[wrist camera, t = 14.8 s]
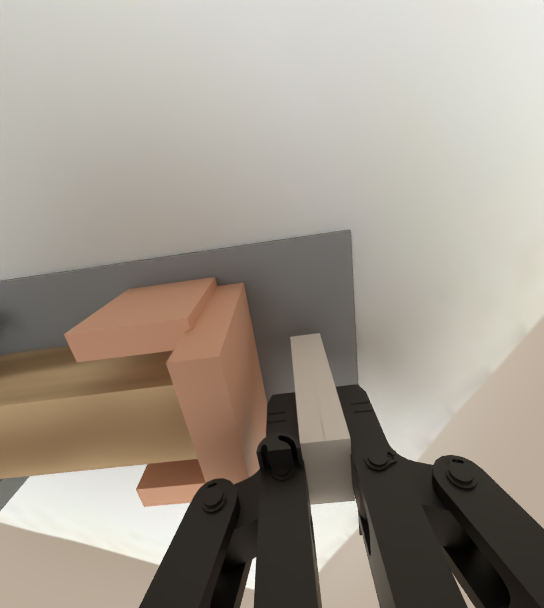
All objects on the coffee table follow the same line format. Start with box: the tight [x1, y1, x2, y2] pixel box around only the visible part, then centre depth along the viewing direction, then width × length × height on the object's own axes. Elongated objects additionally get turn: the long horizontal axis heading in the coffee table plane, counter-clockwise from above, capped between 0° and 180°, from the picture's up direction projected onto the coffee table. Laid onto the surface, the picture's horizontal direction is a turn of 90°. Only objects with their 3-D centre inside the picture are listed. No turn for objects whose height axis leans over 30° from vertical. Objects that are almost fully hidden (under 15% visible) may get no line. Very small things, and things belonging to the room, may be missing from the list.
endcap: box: [64, 277, 267, 507], centre depth 13 cm, size 9×6×7 cm, turn 8°
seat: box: [0, 230, 358, 511], centre depth 15 cm, size 12×26×5 cm, turn 98°
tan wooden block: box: [0, 346, 198, 479], centre depth 15 cm, size 4×15×5 cm, turn 99°
